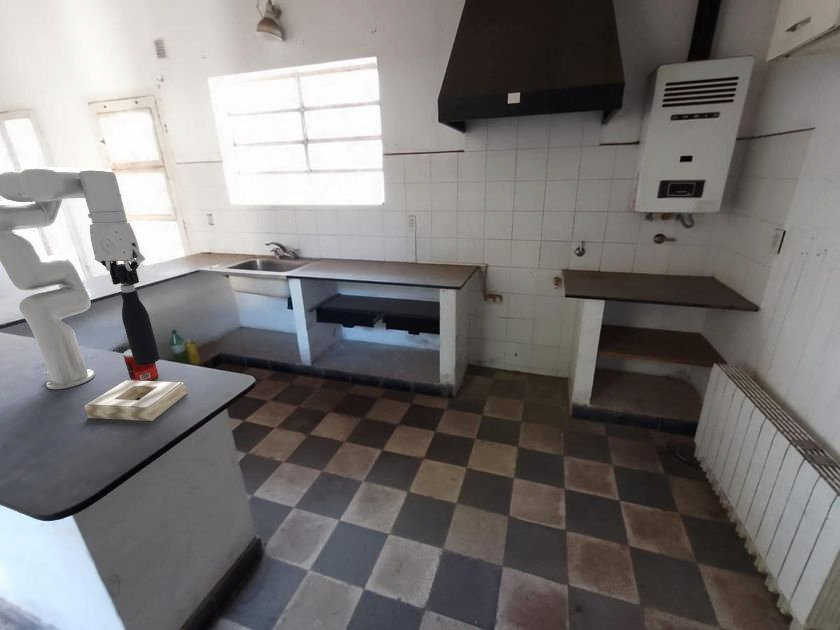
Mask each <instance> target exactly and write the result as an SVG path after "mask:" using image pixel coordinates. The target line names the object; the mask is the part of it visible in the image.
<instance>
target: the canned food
mask: <svg viewBox="0 0 840 630" xmlns="http://www.w3.org/2000/svg"><path fill="white" fill-rule="evenodd" d="M122 354H123V355H122V356H123V359H124V362H125V363H124V364H125V365H126V369H127V372H128V376H129V379H130V380H135V381H155V380H156V379H157V378H158V377H159V372H158V368H157V365H156V362H154V363H152V364H148V365H136V364H135V362H134V359H133V355H132V352H131V348H129V349H127V350H126V351H124V352H123V353H122Z"/></svg>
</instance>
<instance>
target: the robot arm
mask: <svg viewBox="0 0 840 630" xmlns="http://www.w3.org/2000/svg"><path fill="white" fill-rule="evenodd" d="M119 187H120V186H119V183H118V180H117V175H116V174H115V172H113V171H112V170H111V169H106V168H105V169H103V168H75V167H74V168H73V167H39V168H29V169H23V170H13V171H7V172H6V171H5V172H2V173H0V197H2V198H3V199H5V200H0V263H1V265H2V267H3V269H4V270H5V272H6V274H7V276H8V278H9V280H10V281H11V283H12V284H13V285H14V287H15V288H16V289H18V290H20V291H33V290H38V289H43V288H44V289H45V288H49V287H53V286H58V288H56V289H52V290H46V291H42V292H40V293H39V292H38V293H35V294H31V295H28V296H26V297H25V298H23V299H21V301H20V303H19V306H18V307H19V310H20V313H21V314H22V317H23V318H24V319H25V321H26V322H27V324H28V326H29V328H30V330H31V332H32V334H33V336H34V338H35V341H36V343H37V346H38V349H39V351H40V354H41V357H42V359H43V361H44V365H45V367H46V369H45V371H43V372H42V375H41V376H43V377H48V381H47V382H46V385H45V386H46V387H47V389H50V390H64V389H69V388H72V387H77V386H80V385H82V384H84V383H87V382H89V381H90V380H92V379H93V378H94V377H95V370H93V369H88V368H87V365H86V361H85V359H84V356H83V354H82V353H83V352H82V350H81V348H80V345H79V342H78V339H77V335H76V333H75V331H74V329H73V328H72V326H70V325H68V324H66V323H64V322H63V320H62V319H66V318H68V317H72V316H74V315H79V314H81V313H84V312H87V311H88V310H89V309H90V308H91V304H92V303H91V302H92V301H91V298H90V295H89V293H88V291H87V289H86V287H85V285H84V283H83V281H82V280H81V277H80V275H79V273H78V271H77V269H76V268H75V265H74V264H73V263H72V262H71V261H70V260H69V259H68V258H67V257H64V256H62V255H57V254H56V255H48V256H47V255H46V256H39V255H38V253H37V252H36V249H35V247H34V246H33V244H32V243H31V242H30V241H29V240H28V239H26V238H25V237H23V236H22V235H20V234H19V233H16V232H15V231H16V230H27V229H38V228H45V227H46V228H47V227H49V226H51V225H52V224H54V223H55V221H56V218H57V216H58V213H59V210H60V208H61V206H62V202H63V200H66V199H85V202H86V206H87V209H88V215H87V217H88V218H89V219H91V222H92V223H89V236H90V241H91V247H92V251H93V255H94V260H95V261H96V262H98V263H100V264H101V265H102V266H103V267H105V269H106V270H107V271H109V275H110V278H111V281H112V284H113V286H114V285H115V286H116V285H119V284H121V281H120V278H117V277H116V275H115V271H114V267H113V266H114V265H118V264H119V262H123V264H125V266H126V269H127V270H128V271H126V276H127V280H128V284H129V285H133V284H134V285H136V284H139V283H140V279H139V276H138V275H139V274H138V271H137V270H138V269H139V266H140V265H141V263H143V262H144V261H145V260H146V258H145V256H144V255H143V254H142V253H141V252H140V251H141V250H140V248H139V244H138V243H139V242H138V240H137V237H136V234H135V232H134V230H133V228H132V225H131V223H130V222H128V219H127V215H126V212H125V208H124V203H123V200H122V199H123V198H122V195H121V191H120V188H119Z"/></svg>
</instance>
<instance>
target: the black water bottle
mask: <svg viewBox="0 0 840 630" xmlns="http://www.w3.org/2000/svg"><path fill="white" fill-rule="evenodd" d="M113 267H114V271H115V275H116V277H117V278H120V281H121V283H120V284H121V285H120V290H121V292H120V295H121V299H122V307H121V320H122V323H123V327H124V330H125V333H126V334H125V335H126V338H127V341H128V345H129V349H131V352H132V355H133V359H134V362H135V364H136V365H148V364H152V363H154V362H155V363H156V362H158V361H159V360H160V359H161V358H160V354H159V350H158V344H157V341H156V338H155V334H154V329H153V326H152V322H151V319H150V315H149V312H148V311H147V309H146V306H145V305H144V304H143V303H142V301H141V299H140V298H139V294H138V290H136V288H135V284H133V285H129V284H128V280H127V276H126V271H128V270H127V269H126V266H125V264H124V263H118V265H114V266H113Z"/></svg>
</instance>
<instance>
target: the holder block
mask: <svg viewBox="0 0 840 630" xmlns="http://www.w3.org/2000/svg"><path fill="white" fill-rule="evenodd" d="M187 394H188V393H187V389H186V386H185V382H181V381H159V380H158V381H157V380H156V381H155V380H153V381H135V380H131V379H130V380H129V379H127V380H124V381H123V382H121V383H119V384H117V385H116V386H114V387H113V388H111V389H110V390H108V391H106V392H104V393H103V394H101V395H100V396H98V397H97V398H95V399H93V400H91V401H90V402H88V403H87V404H85V405H84V409H85V412H86V415H87V417H88V419H100V420H101V419H104V420H105V419H106V420H122V421H123V420H125V421H126V420H127V421H146V422H153V421H154V420H156V419H157V418H158V417H159V416H160V415H162V414H163V413H165V412H166V411H167V410H168V409H170V407H172V406H173V405H174V404H176V403H177V402H178V401H179V400H181V399H182V398H183V397H185V396H186V395H187ZM138 398H139V400H138Z"/></svg>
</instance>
